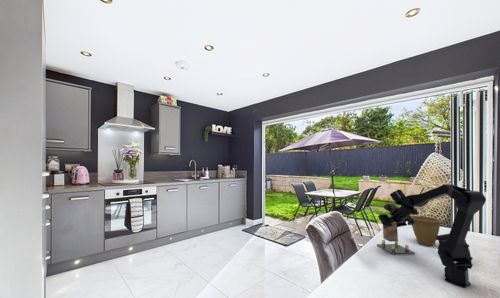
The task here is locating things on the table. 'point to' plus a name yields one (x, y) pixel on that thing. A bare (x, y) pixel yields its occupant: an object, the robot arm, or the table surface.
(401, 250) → the standoff plate
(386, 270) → the table surface
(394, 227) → the walnut block
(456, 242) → the robot arm
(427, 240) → the plant pot
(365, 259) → the table surface
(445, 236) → the black shoulder bracket
